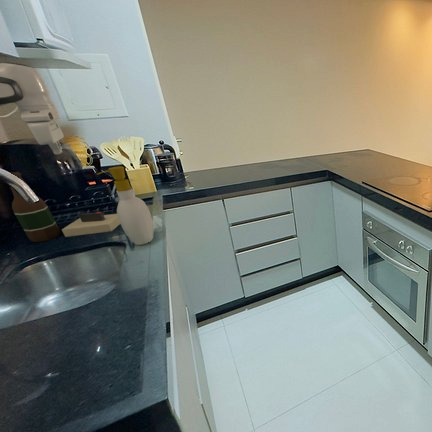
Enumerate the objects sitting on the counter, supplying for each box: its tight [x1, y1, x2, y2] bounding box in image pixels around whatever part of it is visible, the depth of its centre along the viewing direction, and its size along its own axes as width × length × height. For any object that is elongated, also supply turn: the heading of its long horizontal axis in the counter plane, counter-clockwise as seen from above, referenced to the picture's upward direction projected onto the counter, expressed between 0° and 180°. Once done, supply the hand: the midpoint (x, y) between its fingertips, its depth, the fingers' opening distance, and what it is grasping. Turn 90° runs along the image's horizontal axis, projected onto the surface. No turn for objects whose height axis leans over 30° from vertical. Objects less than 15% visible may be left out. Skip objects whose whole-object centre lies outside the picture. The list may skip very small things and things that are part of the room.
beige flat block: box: [61, 213, 121, 238], centre depth 112 cm, size 14×11×3 cm
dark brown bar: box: [78, 211, 105, 222], centre depth 111 cm, size 7×1×3 cm, turn 99°
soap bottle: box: [96, 165, 154, 246], centre depth 98 cm, size 14×9×26 cm, turn 34°
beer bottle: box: [9, 171, 61, 243], centre depth 101 cm, size 8×8×24 cm
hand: (58, 153), depth 109 cm, fingers closed
